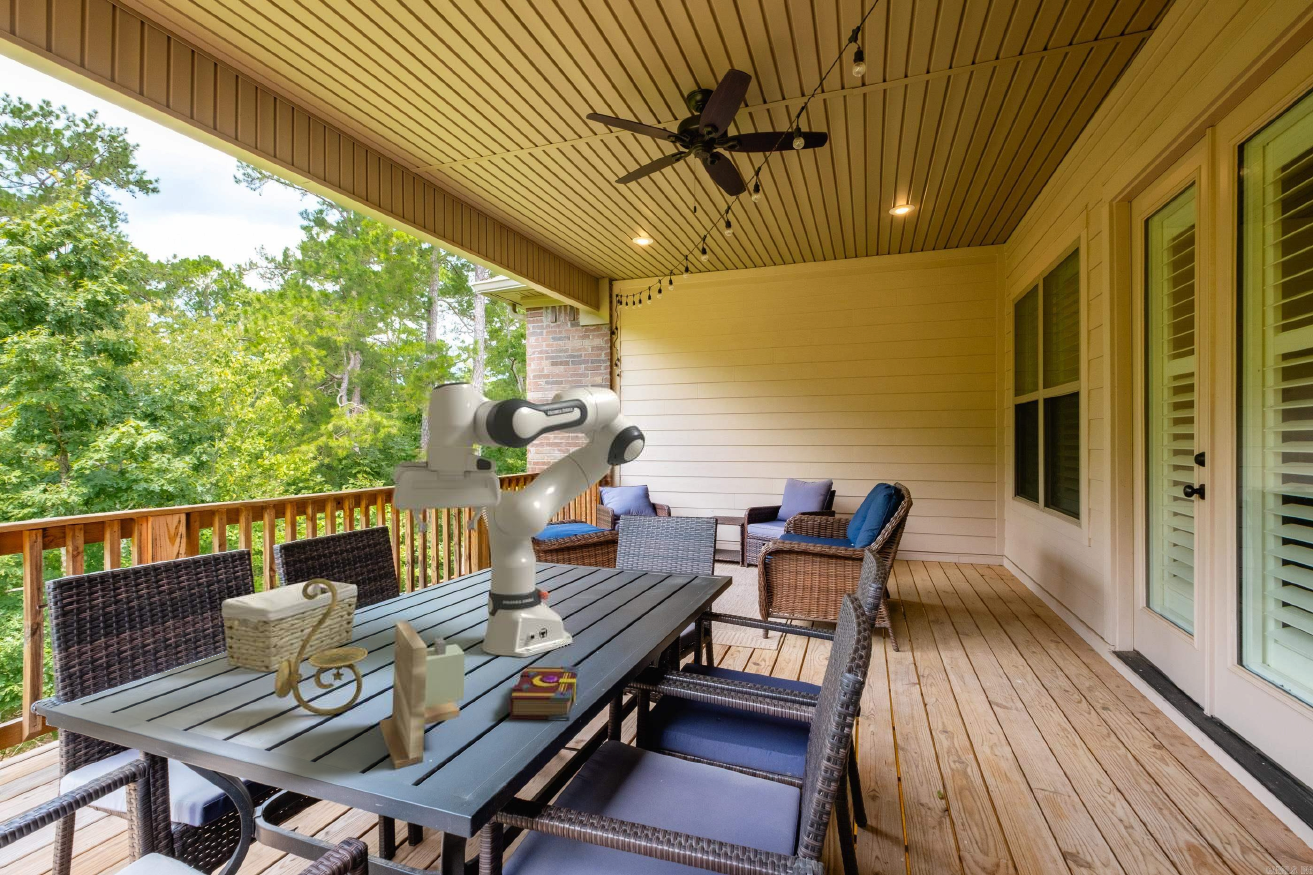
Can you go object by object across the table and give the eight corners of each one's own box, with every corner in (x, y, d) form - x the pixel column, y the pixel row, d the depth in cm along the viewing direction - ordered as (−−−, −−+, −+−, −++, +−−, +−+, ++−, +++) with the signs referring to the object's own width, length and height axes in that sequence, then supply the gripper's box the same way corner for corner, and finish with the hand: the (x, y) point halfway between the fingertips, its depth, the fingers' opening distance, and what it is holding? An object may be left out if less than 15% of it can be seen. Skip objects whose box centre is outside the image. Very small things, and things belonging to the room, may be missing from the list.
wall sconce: (268, 728, 97) (274, 584, 98) (296, 704, 107) (301, 573, 107) (353, 725, 99) (358, 584, 100) (373, 701, 109) (377, 572, 109)
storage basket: (266, 677, 119) (269, 607, 120) (214, 666, 125) (217, 599, 125) (359, 642, 142) (361, 584, 142) (311, 634, 147) (314, 578, 148)
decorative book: (507, 721, 103) (508, 693, 103) (526, 685, 119) (526, 661, 119) (569, 722, 103) (570, 694, 103) (579, 685, 119) (580, 662, 119)
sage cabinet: (460, 687, 102) (462, 631, 102) (469, 698, 98) (470, 640, 98) (413, 696, 98) (415, 639, 98) (420, 709, 93) (422, 648, 93)
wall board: (438, 712, 105) (441, 615, 105) (461, 751, 92) (465, 640, 92) (379, 725, 99) (383, 623, 100) (395, 769, 86) (399, 651, 87)
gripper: (396, 461, 104) (393, 536, 103) (504, 462, 115) (502, 529, 115) (390, 460, 109) (388, 531, 109) (494, 462, 121) (492, 526, 120)
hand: (447, 530), depth 112 cm, fingers open, 8 cm apart
